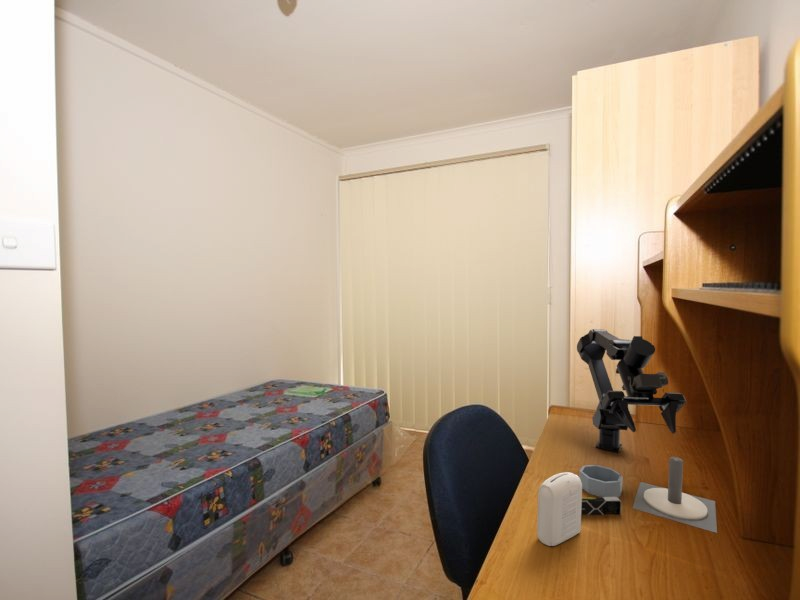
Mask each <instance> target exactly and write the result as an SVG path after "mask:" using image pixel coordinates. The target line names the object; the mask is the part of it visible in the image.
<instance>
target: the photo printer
mask: <svg viewBox="0 0 800 600" xmlns="http://www.w3.org/2000/svg"><path fill="white" fill-rule="evenodd" d="M537 496H538V497H537V524H536V525H537V526H536V527H537V529H536V530H537V531H536V532H537V533H536V534H537V535H536V536H537V538H538V539H539V541H540V542H541V543H542V544H543V545H546V546H548V547H551V546H552V547H553V546H557V545H559V544H562V543H564V542H566V541H567V540H569V539H571V538H573V537H575V536H577V534H579V533H580V532H581V529H582V515H581V507H582V497H583V488H582V482H581V480H580V478H579V476H578V475H577V474H574V473H573V472H570V471H569V472H568V471H565V472H559V473H556V474H554V475H552V476H550V477H549V478H546V480H544V481H542V483H541V484H540V486H539V488H538V495H537Z"/></svg>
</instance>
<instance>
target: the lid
mask: <svg viewBox="0 0 800 600" xmlns="http://www.w3.org/2000/svg"><path fill="white" fill-rule="evenodd" d="M668 458H669V459H668V461H669V462H668V482H667V483H668V485H667V487H668V488H666V487H662V488H651V489H647V490H646V491H645V492H644V500H645V502H646V503H647V504H648V505H649V506H651V507H652V508H654V509H656V510H657V511H659V512H662V513H664V514H667V515H669V516H673V517H676V518H681V519H687V520H699V519H703V518H705V517H706V516H707V507H706V506H705V505H704V504H703V503H702V502H701V501H700V500H698V499H696V498H695V497H692V496H690V495H691V494H689V495H688V493H684V492H683V474H684V470H683V469H684V460H683V459H682V458H680V457H677V456H670V457H668Z"/></svg>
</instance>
